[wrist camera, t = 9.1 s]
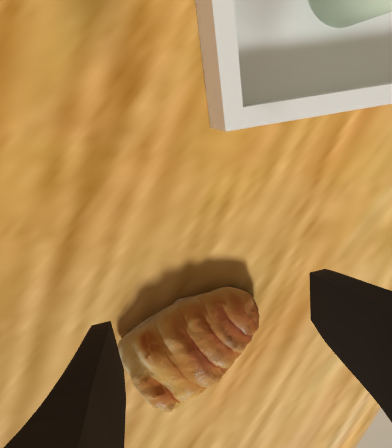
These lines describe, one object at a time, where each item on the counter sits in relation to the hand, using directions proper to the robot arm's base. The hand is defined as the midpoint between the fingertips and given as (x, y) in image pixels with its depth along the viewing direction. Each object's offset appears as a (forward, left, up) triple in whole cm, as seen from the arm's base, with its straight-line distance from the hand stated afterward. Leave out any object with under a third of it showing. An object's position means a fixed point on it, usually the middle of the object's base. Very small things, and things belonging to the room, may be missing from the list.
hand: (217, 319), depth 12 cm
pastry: (+1, +8, -10) cm, 13 cm away
